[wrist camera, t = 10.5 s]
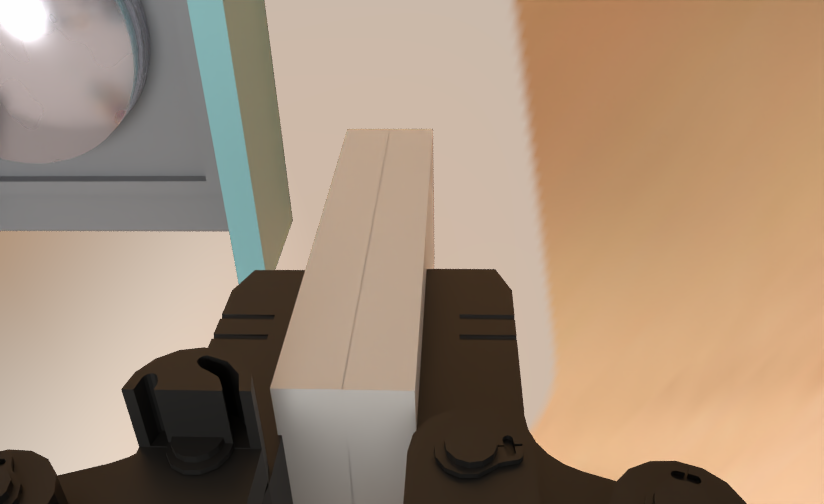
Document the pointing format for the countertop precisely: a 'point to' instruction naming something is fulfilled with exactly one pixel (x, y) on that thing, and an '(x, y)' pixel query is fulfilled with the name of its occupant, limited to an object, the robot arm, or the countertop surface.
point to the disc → (68, 74)
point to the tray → (179, 144)
